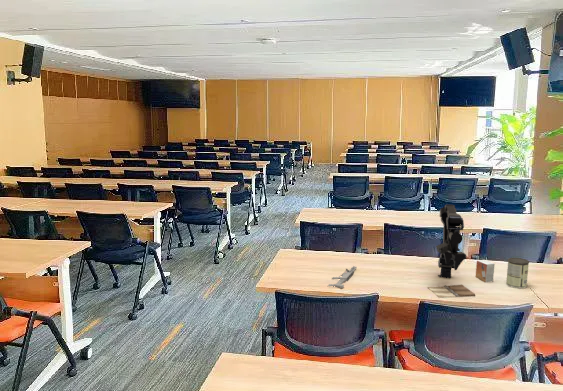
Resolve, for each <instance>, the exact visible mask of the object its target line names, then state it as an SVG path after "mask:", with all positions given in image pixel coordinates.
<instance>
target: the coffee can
mask: <svg viewBox="0 0 563 391" xmlns="http://www.w3.org/2000/svg"><path fill="white" fill-rule="evenodd" d="M529 263H530V261H529V260H528V259H526V258H521V257H520V258H519V257H509V258H508V259H507V269H506V270H507V271H506V272H507V273H506V285H507V286H508V287H509V288H513V289H526V288H527V287H528V276H529V275H528V274H529Z"/></svg>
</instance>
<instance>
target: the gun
mask: <svg viewBox="0 0 563 391" xmlns="http://www.w3.org/2000/svg"><path fill="white" fill-rule="evenodd" d="M356 269H357V266H356V265H355V266H354V265H353V266H352V267H351V268H350V269H348V268H345V270H344V272H343V273H342V274H340V275H339V276H338V277H337V276H333V277H331V280H334V279H340V280H338V281H337V283H334V284H332V283H329V284H328V285H327V287H328V286H333V287H332V288H339V289H344V287H345V285H344V284H343V283H346V282H345V281H347V282H348V281H349V279H350V278H351V277H352V276H353V275H354V273H355V270H356ZM340 276H342V277H340ZM334 286H335V287H334Z"/></svg>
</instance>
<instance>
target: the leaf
mask: <svg viewBox="0 0 563 391" xmlns="http://www.w3.org/2000/svg"><path fill="white" fill-rule="evenodd" d="M447 286H448V287H449V288H448V289H447V290H448V291H450V292H451V293H452V294H453V293H454V292H455V293H457V294H458V295H459V296H460V297H461V298H463V297H476V293H474V291H472V290H471V289H469V288H467V287H466V286H464V285H463V284H454V285H452V284H451V285H447ZM460 297H459V298H460Z"/></svg>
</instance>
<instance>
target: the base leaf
mask: <svg viewBox="0 0 563 391" xmlns="http://www.w3.org/2000/svg"><path fill="white" fill-rule="evenodd" d="M448 286H449V285H444V286H428V287H427V289H428V290H430V291H431V292H432V293H433V294H434V295H435V296H436V297H438V299H439V298H460V296H459V295H458V294H457V293H455V292H454V293H453V294H452V293H451V292H450V291H448V290H447V289H448V288H449V287H448Z"/></svg>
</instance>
